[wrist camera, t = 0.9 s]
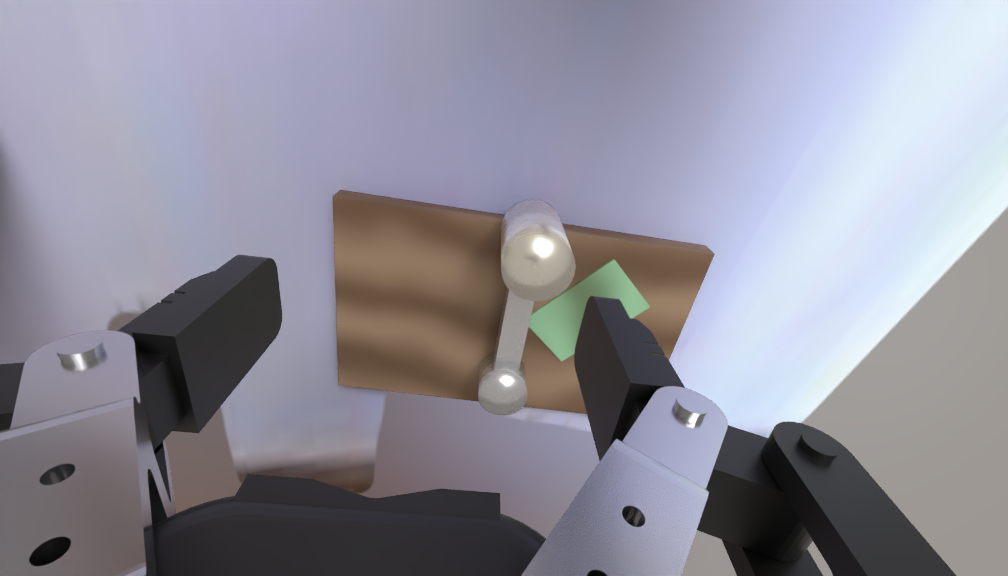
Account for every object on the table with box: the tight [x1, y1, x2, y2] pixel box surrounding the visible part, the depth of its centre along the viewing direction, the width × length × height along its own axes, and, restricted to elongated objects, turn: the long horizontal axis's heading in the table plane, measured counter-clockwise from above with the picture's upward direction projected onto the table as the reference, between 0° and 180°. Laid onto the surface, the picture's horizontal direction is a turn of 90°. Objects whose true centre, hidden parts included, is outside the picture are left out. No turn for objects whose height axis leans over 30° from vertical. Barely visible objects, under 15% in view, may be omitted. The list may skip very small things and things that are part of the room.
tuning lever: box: [478, 199, 576, 415], centre depth 29 cm, size 16×4×6 cm, turn 171°
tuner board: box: [333, 190, 714, 414], centre depth 33 cm, size 16×26×2 cm, turn 81°
